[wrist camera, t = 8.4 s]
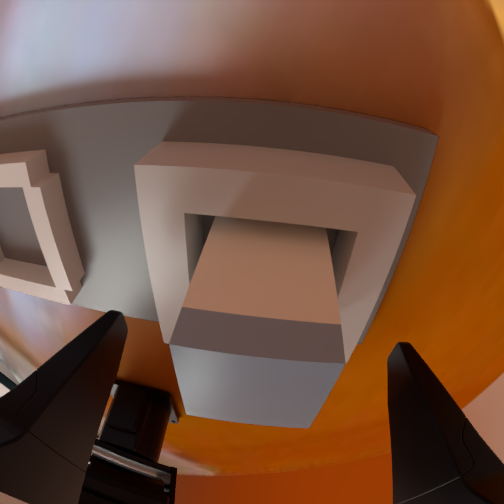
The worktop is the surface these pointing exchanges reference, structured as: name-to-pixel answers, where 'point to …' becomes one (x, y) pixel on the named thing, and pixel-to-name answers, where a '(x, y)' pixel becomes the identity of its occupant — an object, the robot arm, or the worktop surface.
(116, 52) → the worktop surface
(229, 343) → the plug
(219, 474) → the worktop surface
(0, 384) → the external hard drive
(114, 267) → the panel
